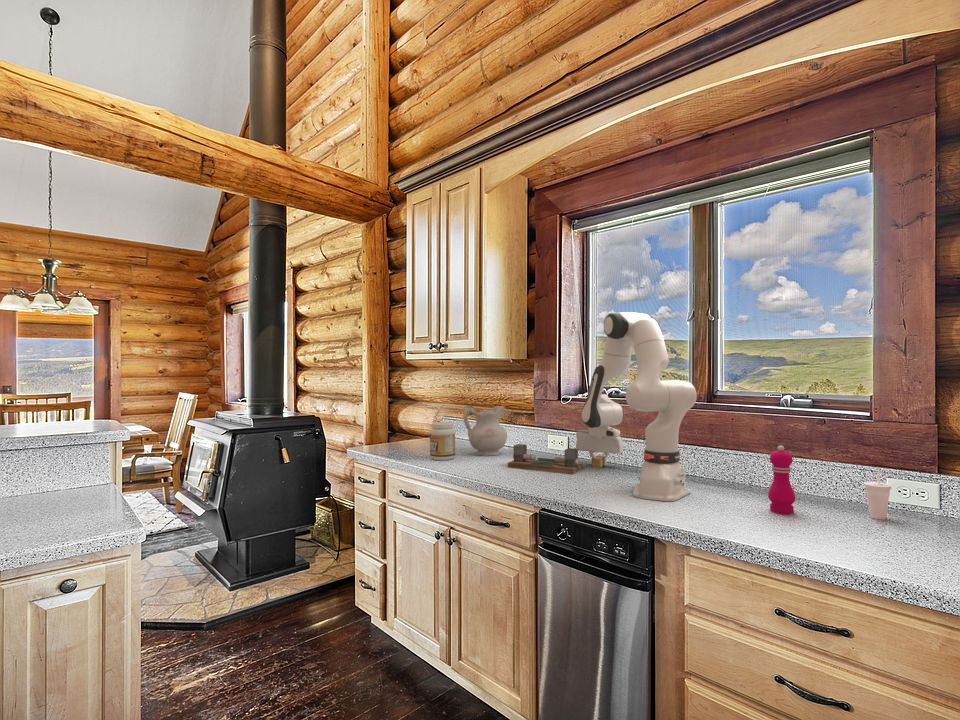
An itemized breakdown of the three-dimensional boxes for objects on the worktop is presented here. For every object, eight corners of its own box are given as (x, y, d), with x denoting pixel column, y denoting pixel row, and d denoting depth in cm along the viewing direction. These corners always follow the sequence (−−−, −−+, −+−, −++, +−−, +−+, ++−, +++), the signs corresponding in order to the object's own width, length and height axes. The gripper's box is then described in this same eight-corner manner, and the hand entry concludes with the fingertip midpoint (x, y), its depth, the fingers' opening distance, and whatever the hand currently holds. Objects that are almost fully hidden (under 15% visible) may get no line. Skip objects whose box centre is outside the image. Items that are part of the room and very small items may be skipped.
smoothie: (897, 519, 149) (896, 470, 149) (880, 521, 147) (880, 472, 147) (874, 513, 155) (874, 466, 155) (858, 515, 153) (858, 467, 153)
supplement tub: (424, 458, 250) (424, 423, 250) (444, 455, 258) (444, 421, 258) (440, 462, 241) (440, 425, 241) (460, 458, 249) (460, 423, 249)
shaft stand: (572, 474, 212) (572, 452, 212) (508, 467, 228) (507, 446, 228) (583, 468, 223) (583, 447, 223) (520, 462, 238) (520, 442, 238)
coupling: (606, 464, 231) (606, 455, 231) (600, 468, 224) (600, 458, 224) (597, 463, 233) (597, 454, 233) (591, 467, 226) (591, 457, 226)
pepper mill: (763, 507, 162) (762, 443, 162) (787, 507, 162) (786, 443, 162) (776, 514, 155) (775, 447, 155) (800, 514, 155) (800, 447, 155)
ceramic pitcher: (472, 461, 248) (474, 409, 246) (457, 451, 266) (458, 403, 264) (513, 457, 257) (514, 407, 255) (495, 448, 274) (497, 401, 273)
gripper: (573, 430, 231) (574, 461, 231) (619, 433, 220) (619, 465, 220) (578, 428, 236) (579, 458, 236) (623, 431, 226) (624, 463, 226)
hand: (599, 462), depth 228 cm, fingers closed on coupling, 3 cm apart
